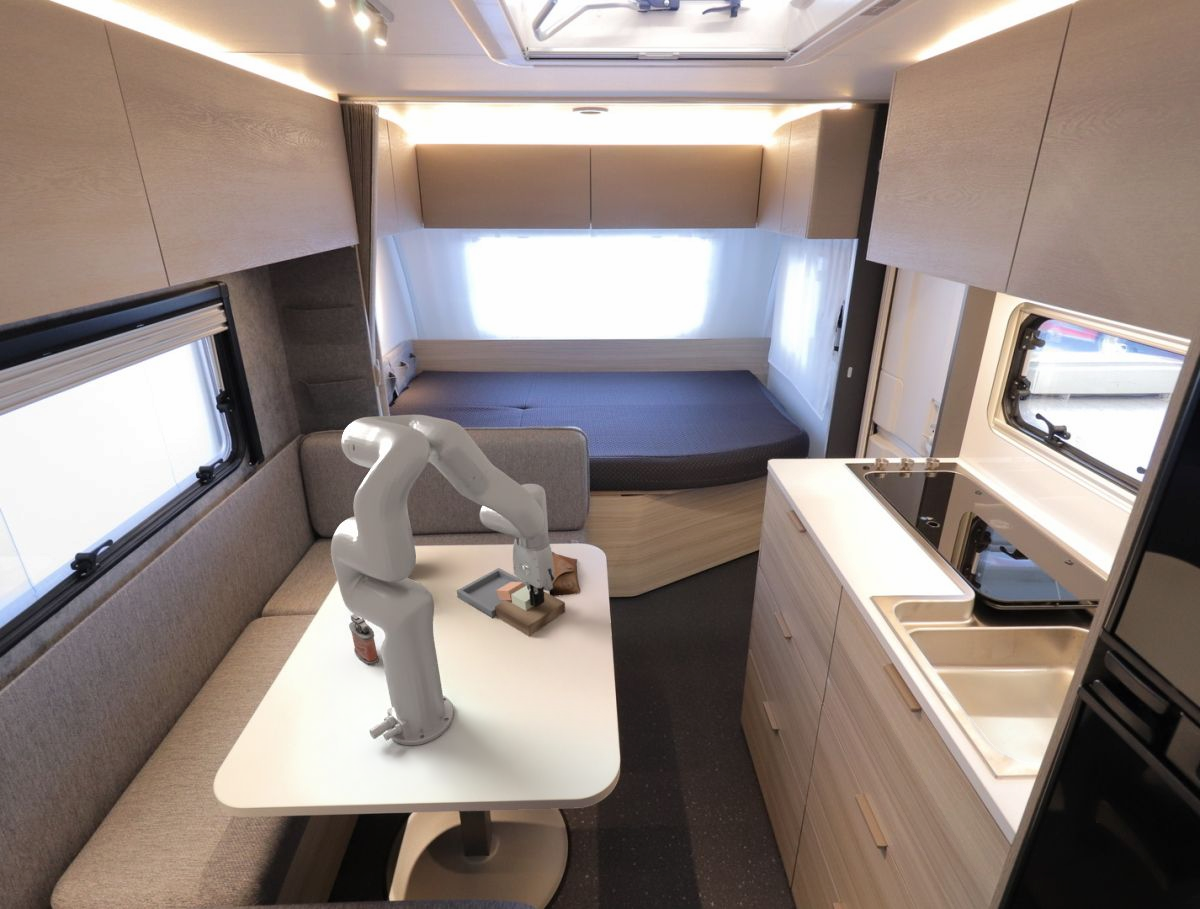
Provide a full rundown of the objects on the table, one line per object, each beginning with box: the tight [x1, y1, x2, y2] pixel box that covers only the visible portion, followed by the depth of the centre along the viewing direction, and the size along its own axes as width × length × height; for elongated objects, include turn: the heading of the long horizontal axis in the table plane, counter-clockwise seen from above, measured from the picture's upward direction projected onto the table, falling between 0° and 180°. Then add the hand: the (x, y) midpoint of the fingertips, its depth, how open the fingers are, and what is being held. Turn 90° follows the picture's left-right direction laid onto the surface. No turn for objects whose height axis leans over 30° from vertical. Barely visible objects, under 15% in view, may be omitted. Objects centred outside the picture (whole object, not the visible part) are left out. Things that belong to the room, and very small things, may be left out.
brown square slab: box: [495, 591, 566, 637], centre depth 151 cm, size 12×12×3 cm
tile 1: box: [496, 582, 525, 600], centre depth 154 cm, size 5×5×2 cm
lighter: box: [348, 613, 380, 667], centre depth 137 cm, size 8×3×10 cm, turn 47°
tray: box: [456, 567, 527, 619], centre depth 159 cm, size 14×14×2 cm
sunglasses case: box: [548, 551, 581, 597], centre depth 167 cm, size 18×7×7 cm
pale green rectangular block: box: [511, 586, 533, 611], centre depth 151 cm, size 5×5×2 cm
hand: (537, 603), depth 148 cm, fingers closed
